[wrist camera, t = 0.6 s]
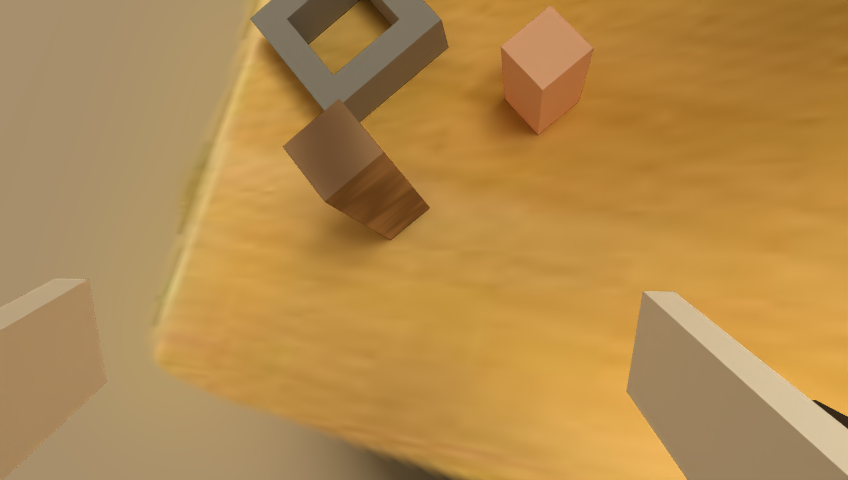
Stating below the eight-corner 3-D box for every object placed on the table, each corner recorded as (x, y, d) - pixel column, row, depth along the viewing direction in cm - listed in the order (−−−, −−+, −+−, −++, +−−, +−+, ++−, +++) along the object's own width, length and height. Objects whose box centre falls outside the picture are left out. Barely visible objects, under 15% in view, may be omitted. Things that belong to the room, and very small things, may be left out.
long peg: (399, 170, 41) (339, 98, 27) (429, 207, 40) (383, 152, 26) (361, 202, 41) (282, 146, 27) (390, 240, 40) (324, 201, 26)
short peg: (544, 65, 40) (550, 5, 32) (578, 101, 39) (593, 47, 31) (504, 98, 40) (500, 46, 32) (538, 134, 39) (542, 90, 31)
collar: (369, -39, 44) (355, -73, 40) (448, 47, 41) (441, 19, 38) (273, 44, 45) (250, 18, 41) (345, 133, 42) (327, 115, 38)
